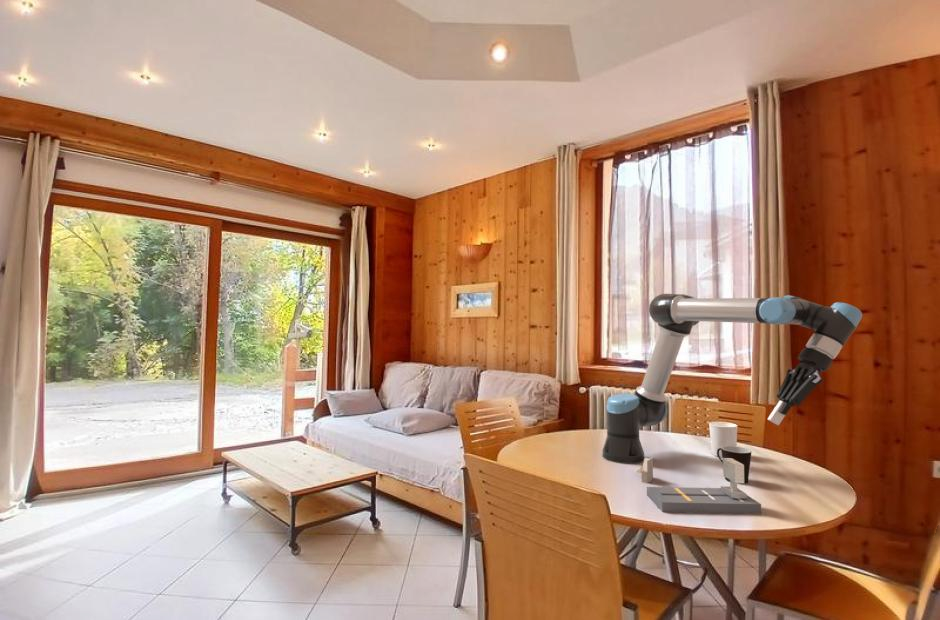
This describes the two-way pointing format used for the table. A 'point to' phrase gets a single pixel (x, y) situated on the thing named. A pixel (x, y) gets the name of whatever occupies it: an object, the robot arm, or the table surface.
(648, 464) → the architectural model
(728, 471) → the fader
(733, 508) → the console
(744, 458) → the coffee mug
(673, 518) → the table surface
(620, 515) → the table surface
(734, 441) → the candle holder
